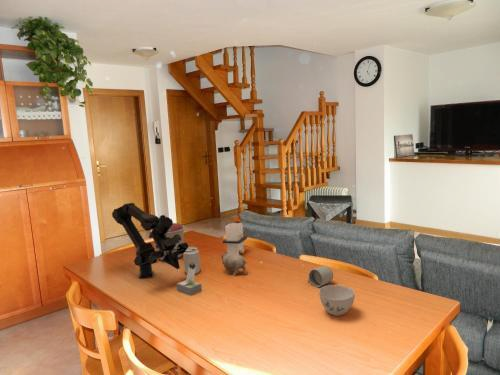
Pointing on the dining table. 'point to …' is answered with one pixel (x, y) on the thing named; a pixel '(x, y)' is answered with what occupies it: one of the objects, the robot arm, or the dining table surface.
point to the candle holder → (234, 238)
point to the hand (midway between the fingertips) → (178, 268)
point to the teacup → (336, 298)
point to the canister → (173, 231)
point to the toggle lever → (190, 273)
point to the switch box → (189, 287)
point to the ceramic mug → (320, 276)
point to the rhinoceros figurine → (233, 263)
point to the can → (191, 258)
